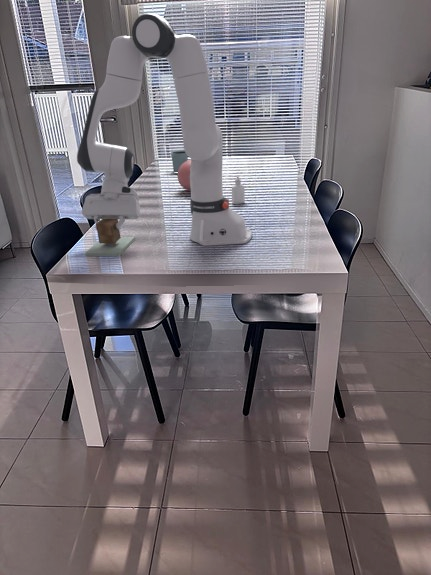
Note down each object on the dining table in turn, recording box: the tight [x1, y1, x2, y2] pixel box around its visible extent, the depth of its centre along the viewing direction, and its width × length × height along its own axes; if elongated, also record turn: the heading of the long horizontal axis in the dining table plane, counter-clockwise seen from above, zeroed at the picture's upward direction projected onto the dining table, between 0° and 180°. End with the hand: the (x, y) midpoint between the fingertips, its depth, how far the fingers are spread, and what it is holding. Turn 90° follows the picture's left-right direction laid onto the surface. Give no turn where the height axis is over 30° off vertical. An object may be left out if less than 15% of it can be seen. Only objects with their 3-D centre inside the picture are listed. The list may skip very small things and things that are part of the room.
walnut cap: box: [95, 219, 122, 244], centre depth 148 cm, size 6×6×7 cm
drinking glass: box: [170, 150, 189, 173], centre depth 260 cm, size 10×10×12 cm
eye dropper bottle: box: [231, 175, 246, 205], centre depth 191 cm, size 4×6×12 cm
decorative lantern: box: [177, 159, 191, 192], centre depth 212 cm, size 15×20×15 cm
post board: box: [84, 236, 136, 257], centre depth 149 cm, size 12×16×6 cm
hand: (107, 229), depth 147 cm, fingers closed on walnut cap, 6 cm apart
